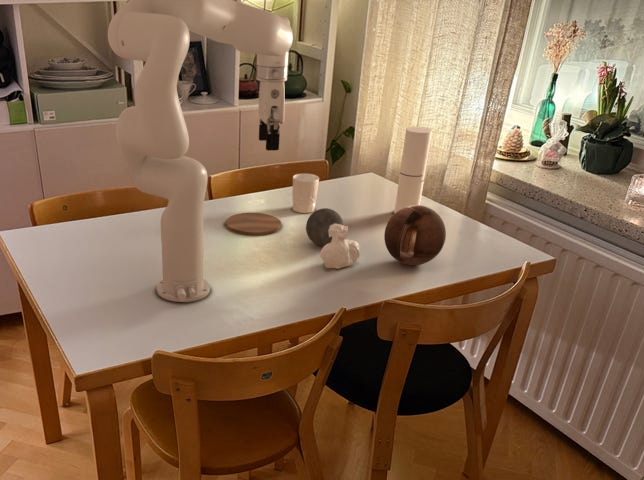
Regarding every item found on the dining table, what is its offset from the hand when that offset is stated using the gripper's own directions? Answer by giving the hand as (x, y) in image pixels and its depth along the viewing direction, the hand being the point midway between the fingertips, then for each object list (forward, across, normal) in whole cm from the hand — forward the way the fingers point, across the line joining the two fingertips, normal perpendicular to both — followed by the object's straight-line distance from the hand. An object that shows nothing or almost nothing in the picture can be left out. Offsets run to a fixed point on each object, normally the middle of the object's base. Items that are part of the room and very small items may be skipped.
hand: (268, 145), depth 177 cm
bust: (+27, -16, -16) cm, 35 cm away
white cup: (+26, +25, -17) cm, 40 cm away
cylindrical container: (+26, +18, -47) cm, 57 cm away
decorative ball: (+27, -3, -16) cm, 31 cm away
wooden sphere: (+27, -17, -35) cm, 47 cm away
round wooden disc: (+26, +14, 0) cm, 30 cm away
